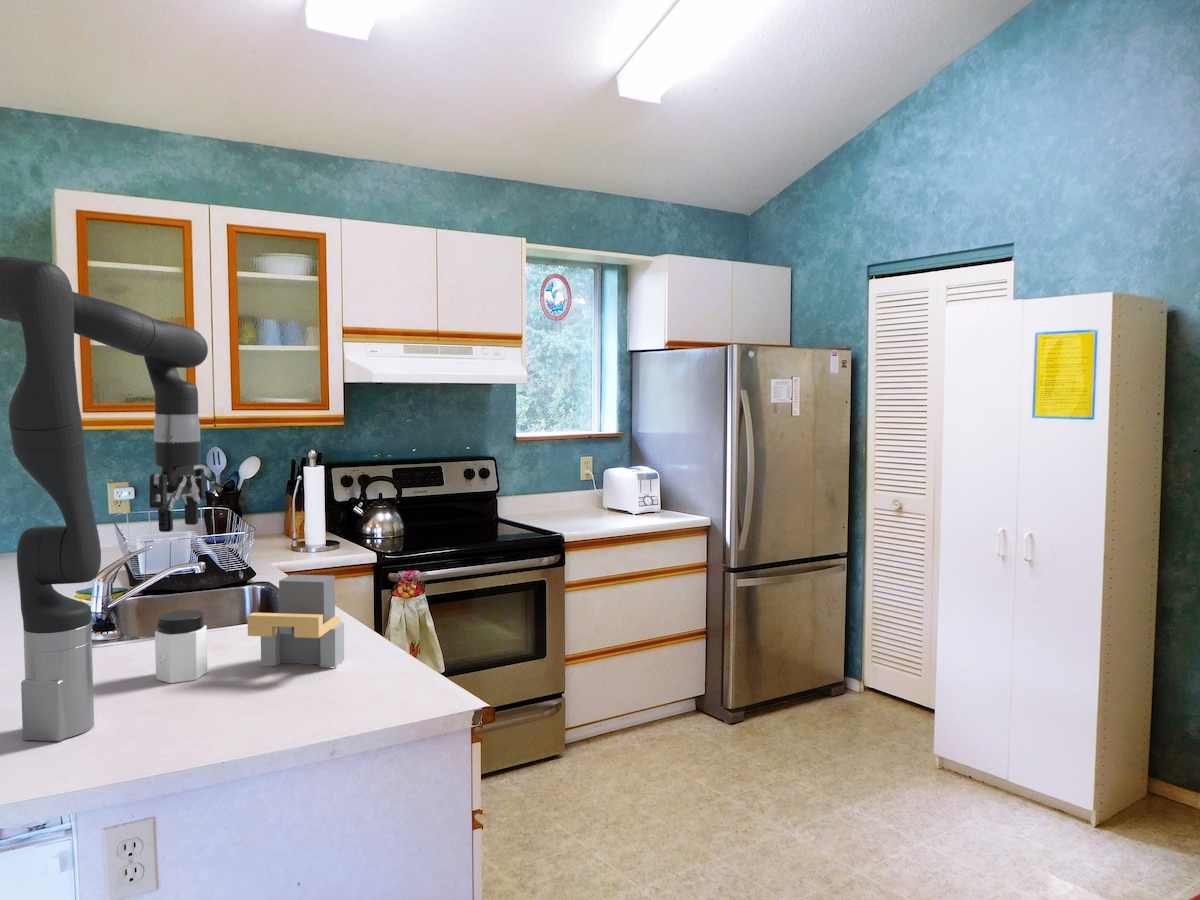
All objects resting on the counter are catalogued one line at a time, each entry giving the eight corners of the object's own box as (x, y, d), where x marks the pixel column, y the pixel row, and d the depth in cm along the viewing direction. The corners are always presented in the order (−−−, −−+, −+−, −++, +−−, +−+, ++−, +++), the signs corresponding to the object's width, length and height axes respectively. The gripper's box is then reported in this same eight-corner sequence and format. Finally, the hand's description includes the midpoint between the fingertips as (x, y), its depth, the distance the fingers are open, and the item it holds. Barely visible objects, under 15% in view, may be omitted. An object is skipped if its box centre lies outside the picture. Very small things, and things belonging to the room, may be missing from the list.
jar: (147, 677, 163) (146, 616, 162) (186, 666, 170) (185, 607, 169) (176, 686, 158) (175, 623, 157) (215, 674, 165) (214, 613, 164)
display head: (324, 678, 164) (323, 591, 162) (247, 675, 164) (246, 589, 163) (349, 656, 177) (348, 576, 176) (278, 654, 178) (277, 574, 177)
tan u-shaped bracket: (318, 638, 163) (318, 617, 162) (247, 635, 164) (247, 615, 163) (340, 622, 174) (339, 603, 174) (273, 620, 175) (273, 601, 174)
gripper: (175, 441, 146) (177, 534, 147) (217, 437, 161) (218, 522, 162) (133, 441, 147) (135, 533, 148) (178, 437, 161) (180, 521, 162)
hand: (179, 527), depth 155 cm, fingers open, 8 cm apart
